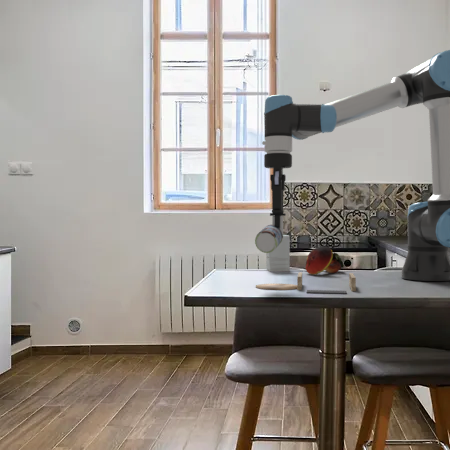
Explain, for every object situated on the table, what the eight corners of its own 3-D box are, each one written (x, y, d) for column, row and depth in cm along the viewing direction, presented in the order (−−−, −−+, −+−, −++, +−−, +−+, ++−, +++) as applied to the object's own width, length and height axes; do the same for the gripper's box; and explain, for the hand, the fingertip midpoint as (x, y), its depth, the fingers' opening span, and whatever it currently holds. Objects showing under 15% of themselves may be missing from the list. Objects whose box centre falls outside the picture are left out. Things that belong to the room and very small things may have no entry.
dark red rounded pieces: (323, 294, 201) (293, 272, 194) (331, 263, 207) (303, 241, 200) (351, 290, 192) (321, 267, 185) (359, 257, 198) (330, 234, 191)
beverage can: (286, 229, 161) (284, 230, 149) (276, 254, 161) (273, 257, 149) (265, 220, 161) (261, 221, 150) (255, 245, 162) (250, 247, 150)
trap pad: (346, 291, 151) (346, 290, 151) (347, 294, 147) (347, 292, 147) (306, 291, 152) (306, 290, 152) (306, 293, 148) (306, 292, 148)
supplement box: (286, 270, 210) (286, 234, 210) (290, 272, 203) (290, 235, 202) (265, 270, 210) (266, 234, 209) (268, 272, 202) (268, 235, 202)
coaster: (300, 285, 165) (300, 283, 165) (299, 290, 153) (299, 289, 153) (257, 284, 167) (257, 283, 167) (253, 289, 155) (253, 288, 155)
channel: (352, 285, 164) (352, 273, 164) (355, 291, 152) (355, 277, 152) (298, 284, 166) (298, 272, 166) (297, 289, 154) (297, 276, 154)
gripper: (266, 156, 168) (266, 238, 168) (261, 150, 153) (261, 240, 153) (293, 155, 166) (292, 238, 167) (290, 150, 152) (290, 241, 152)
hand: (277, 239), depth 160 cm, fingers closed on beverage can, 2 cm apart
